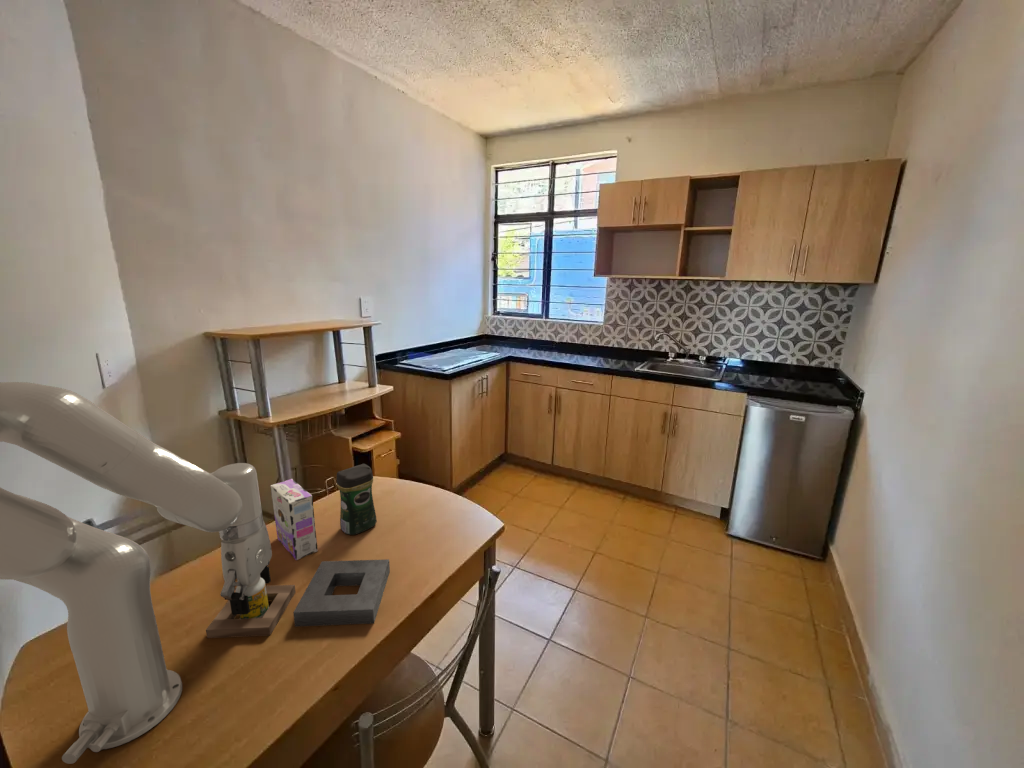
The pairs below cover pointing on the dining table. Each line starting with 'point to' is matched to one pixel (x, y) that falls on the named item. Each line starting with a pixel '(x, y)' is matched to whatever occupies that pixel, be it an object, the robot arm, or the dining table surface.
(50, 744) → the dining table surface
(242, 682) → the dining table surface
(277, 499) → the candy box
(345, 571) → the block
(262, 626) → the walnut frame
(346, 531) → the coffee jar
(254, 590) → the supplement bottle
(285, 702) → the dining table surface
